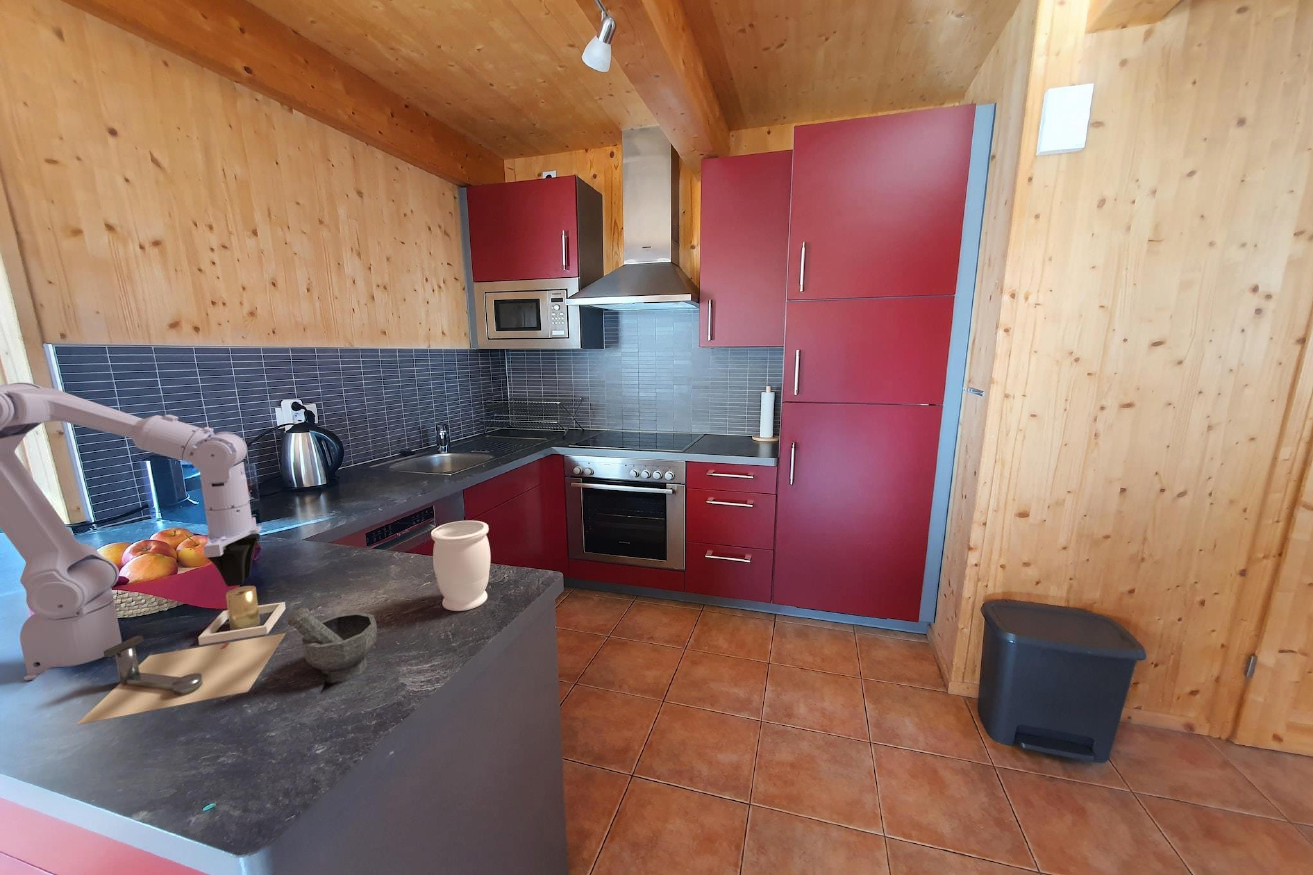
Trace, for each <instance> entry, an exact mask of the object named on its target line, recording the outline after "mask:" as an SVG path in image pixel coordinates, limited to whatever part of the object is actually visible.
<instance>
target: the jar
mask: <svg viewBox="0 0 1313 875" xmlns="http://www.w3.org/2000/svg"><path fill="white" fill-rule="evenodd" d="M489 530H490V528H489V524H487V523H486V522H484V521H479V520H459V521H453V522H448V523H445V524H441V525H439V526H437V527H436V528H434V529H433V530H432V531H431V535H430V536H431V539H432V540H433V541H434V544H433V553H432V562H433V570H434V574H435V577H436V581H437V586H438V588H439V591H440V593H441V594H442V596H443V599H442V604H441V605H442V606H443V608H444V609H446V610H449V611H453V612H462V611H468V610H472V609H474V608H477V607H479V606H481V605H483V604H484V603H485V602H486V601H487V599H488V593H487V591H486V588H487V586H488V583H489V578H490V570H491V548H490V543H489V539H488V536H487V534H488V533H489Z"/></svg>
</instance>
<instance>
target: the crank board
mask: <svg viewBox="0 0 1313 875" xmlns="http://www.w3.org/2000/svg"><path fill="white" fill-rule="evenodd" d="M286 634H287V633H286V632H284V633H279V634H272V635H266V636H259V637H254V638H249V639H242V640H237V641H236V640H235V641H230V642H225V643H224V642H223V643H216V644H212V645H206V646H199V647H195V648H194V647H193V648H192V647H191V648H188V649H187V648H186V649H181V650H176V651H175V650H174V651H169V652H164V653H156V654H149V655H148V656H147V657H146V658H145V659H144V660H143V661H142V662H141V663H140V664H138V666H139V672H141V673H149V674H158V675H166V676H174V677H183V676H186V675H189V674H193V673H200V674H201V675H202V681H203V684H202V685H201V686H200V687H199V688H198V689H196V690H194V691H192V692H189V693H186V694H181V695H176V694H174V691H173V690H168V689H160V688H152V687H144V686H136V685H128V684H127V685H121V684H120V683H118V685H116V686H115V687H114V688H113V689H112V690H111V691H110V692H109V693H108V694H107V695H106V696H105V697H104V698H103V699H102V700H100V701H99V703H98V704H96V705H95V706H94V707H93V708H92V709H91V710H90V711H88V712H87V714H86V715H85V716H83V717H82V718H81V719H80V720H79V721H78V722H77V723H76V724H75V726H79V725H84V724H89V723H95V722H99V721H104V720H110V719H114V718H120V717H121V718H122V717H125V716H130V715H137V714H140V713H145V712H146V713H147V712H151V711H156V710H161V709H166V708H171V707H176V706H181V705H187V704H193V703H197V702H203V701H207V700H212V699H218V698H223V697H227V696H229V697H230V696H233V695H239V694H242V693H248V692H249V691H250V689H251V688H252V686H253V685H254V683H255V682H256V680H257V679H258V677H259V676H260V675H261V673H262V671H263V669H264V668H265V666H266V665H267V663H268V662H269V661H270V659H271V657H272V656H273V654H274V652H275V651H276V649H277V648H278V646H279V645H280V644H281V642H282V640H283V638H284V637H285V636H286Z"/></svg>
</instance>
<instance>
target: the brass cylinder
mask: <svg viewBox="0 0 1313 875" xmlns="http://www.w3.org/2000/svg"><path fill="white" fill-rule="evenodd" d="M225 599H226V606H227V610H228V614H229V619H228V621H229V628H230V631H232V630H238V629H245V628H251V627H257V626H258V625H260V623H261V618H260V614H259V609H258V606H259V603H258V596H257V587H256V586H255V585H244V586H238V587H235V588H233V589H231V590H228V591H227V592H225Z"/></svg>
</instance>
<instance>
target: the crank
mask: <svg viewBox="0 0 1313 875" xmlns="http://www.w3.org/2000/svg"><path fill="white" fill-rule="evenodd" d="M142 642H144V636H143V635H135V636H132V637H131V638H129V639H127V640H125V641H122V643H120V644H118V645H116V646H114V647H111V648H109V649H107V650H105V651H103V652H104V658H105V657H106V658H111V657H115V663H116V668H117V673H118V677H119V678H118V679H119V684H121V685H127V684H128V685H136V686H144V687H152V688H160V689H168V690H173V691H174V694H176V695H181V694H186V693H189V692H192V691H194V690H196V689H198V688H199V687H200V686H201V685H202V684H203V681H202V675H201V674H200V673H193V674H189V675H186V676H183V677H174V676H166V675H158V674H149V673H141V672H139V661H138V657H137V651H136V646H137V645H139V644H141V643H142Z"/></svg>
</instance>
